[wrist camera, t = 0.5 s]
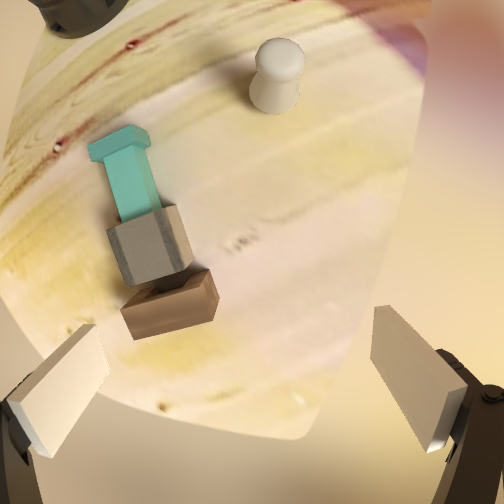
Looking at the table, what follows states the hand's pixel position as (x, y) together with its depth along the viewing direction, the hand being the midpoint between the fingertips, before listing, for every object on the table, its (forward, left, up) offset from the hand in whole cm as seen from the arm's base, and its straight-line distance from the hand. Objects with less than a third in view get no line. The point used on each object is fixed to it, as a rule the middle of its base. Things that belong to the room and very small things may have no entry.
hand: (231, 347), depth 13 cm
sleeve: (-4, -10, -25) cm, 28 cm away
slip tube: (-11, -10, -25) cm, 29 cm away
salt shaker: (-16, +9, -26) cm, 32 cm away
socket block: (+4, -10, -25) cm, 28 cm away
